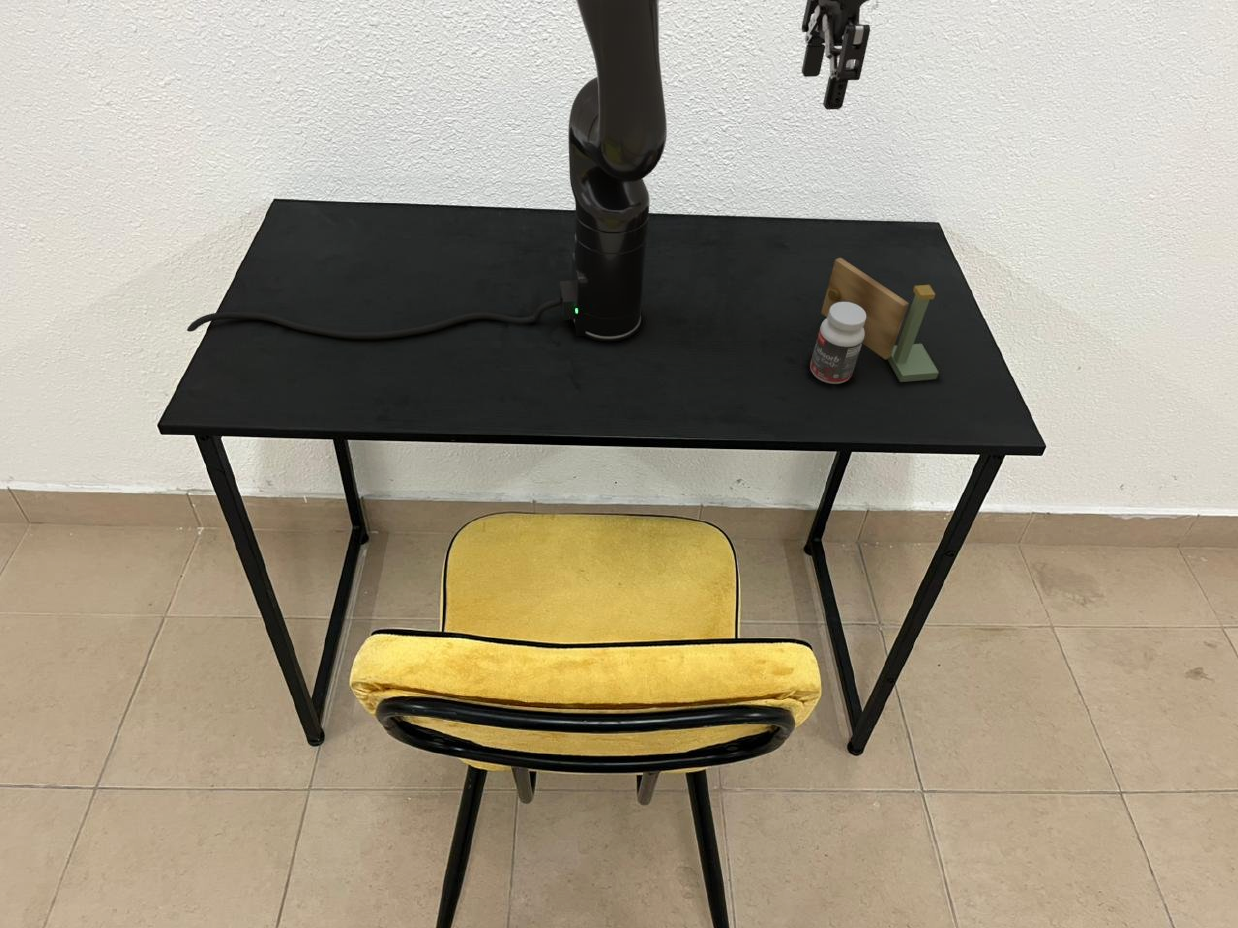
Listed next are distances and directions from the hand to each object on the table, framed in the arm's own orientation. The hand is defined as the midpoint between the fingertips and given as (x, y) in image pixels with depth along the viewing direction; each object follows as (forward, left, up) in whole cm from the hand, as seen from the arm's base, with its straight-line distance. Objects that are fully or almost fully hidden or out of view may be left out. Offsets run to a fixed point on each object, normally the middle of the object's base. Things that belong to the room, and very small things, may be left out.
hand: (820, 91), depth 112 cm
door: (+7, -13, -29) cm, 32 cm away
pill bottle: (+2, -18, -30) cm, 35 cm away
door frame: (+13, -18, -30) cm, 38 cm away
